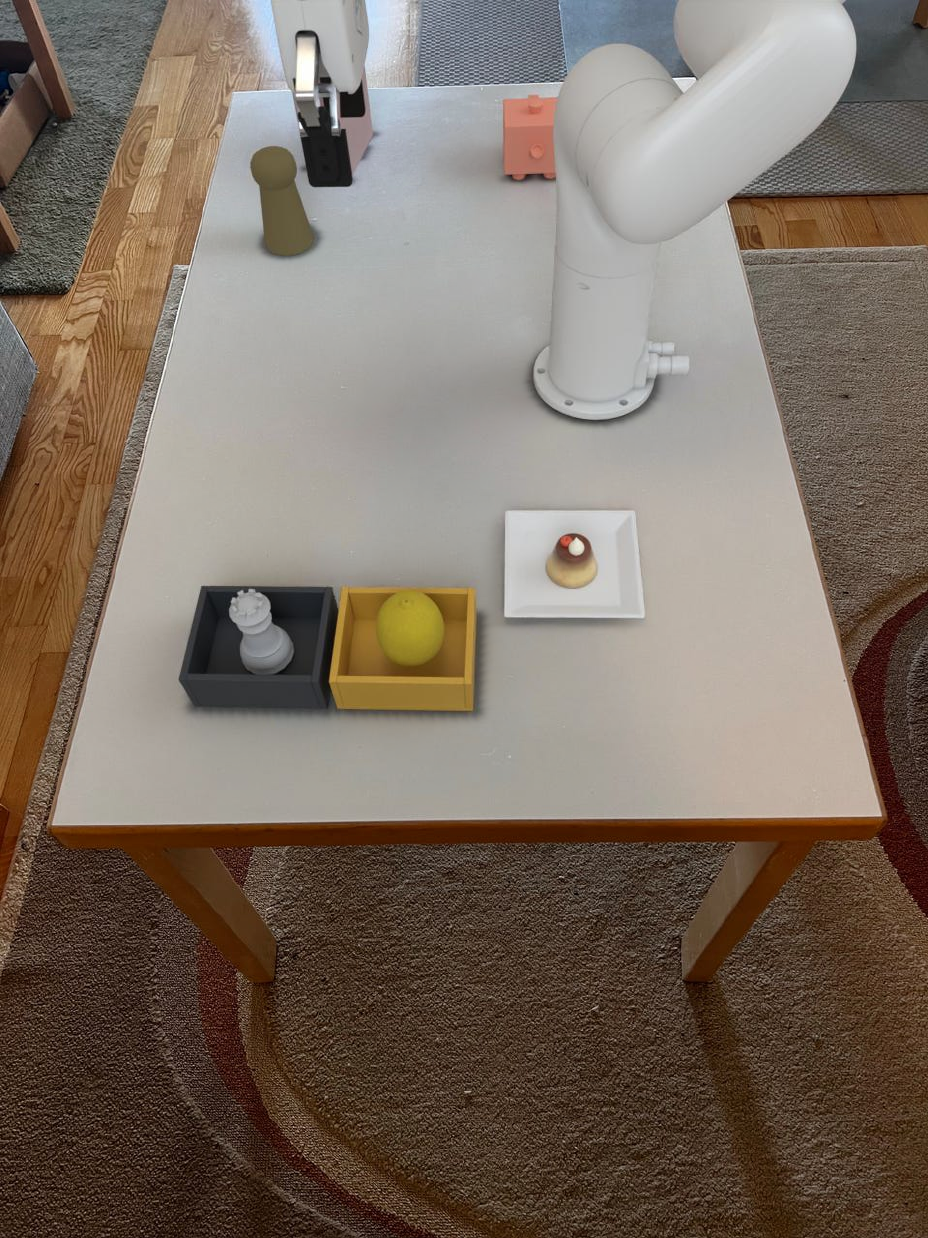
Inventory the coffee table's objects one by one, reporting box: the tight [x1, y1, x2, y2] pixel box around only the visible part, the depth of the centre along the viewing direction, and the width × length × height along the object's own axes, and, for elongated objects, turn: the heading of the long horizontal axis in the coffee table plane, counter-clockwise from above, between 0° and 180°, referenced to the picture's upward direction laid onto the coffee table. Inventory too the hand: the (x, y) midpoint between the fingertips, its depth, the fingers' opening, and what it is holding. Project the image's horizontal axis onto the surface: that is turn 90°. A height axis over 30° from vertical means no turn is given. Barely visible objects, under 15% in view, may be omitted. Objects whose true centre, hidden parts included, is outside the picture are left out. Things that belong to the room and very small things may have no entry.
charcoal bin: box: [178, 585, 339, 710], centre depth 76 cm, size 11×9×4 cm
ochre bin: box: [329, 586, 477, 712], centre depth 75 cm, size 11×9×4 cm
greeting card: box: [291, 64, 374, 176], centre depth 115 cm, size 11×7×15 cm, turn 132°
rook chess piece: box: [229, 589, 294, 675], centre depth 74 cm, size 4×4×8 cm
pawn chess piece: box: [249, 145, 315, 257], centre depth 107 cm, size 6×6×11 cm
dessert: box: [503, 509, 646, 619], centre depth 80 cm, size 12×12×5 cm
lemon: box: [376, 590, 445, 667], centre depth 74 cm, size 6×6×8 cm
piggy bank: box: [502, 94, 558, 181], centre depth 115 cm, size 8×12×8 cm, turn 0°
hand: (339, 148), depth 70 cm, fingers open, 9 cm apart
